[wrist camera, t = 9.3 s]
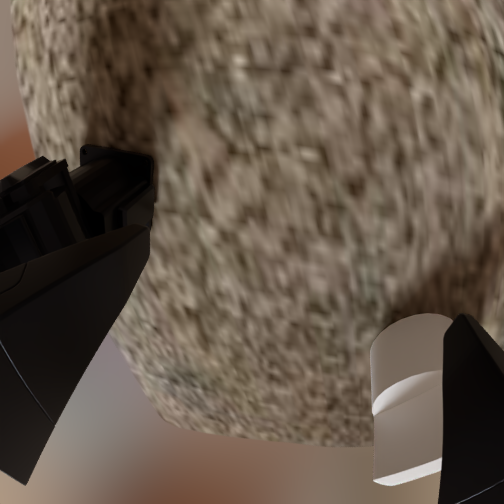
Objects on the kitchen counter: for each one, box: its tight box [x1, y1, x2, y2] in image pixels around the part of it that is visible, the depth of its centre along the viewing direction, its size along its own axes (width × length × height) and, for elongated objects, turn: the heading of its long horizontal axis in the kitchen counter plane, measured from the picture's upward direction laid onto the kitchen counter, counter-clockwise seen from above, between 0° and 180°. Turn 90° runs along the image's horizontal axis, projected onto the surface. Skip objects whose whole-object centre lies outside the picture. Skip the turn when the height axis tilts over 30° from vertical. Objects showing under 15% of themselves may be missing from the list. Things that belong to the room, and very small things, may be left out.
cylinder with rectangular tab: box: [370, 313, 453, 486], centre depth 21 cm, size 9×9×12 cm
